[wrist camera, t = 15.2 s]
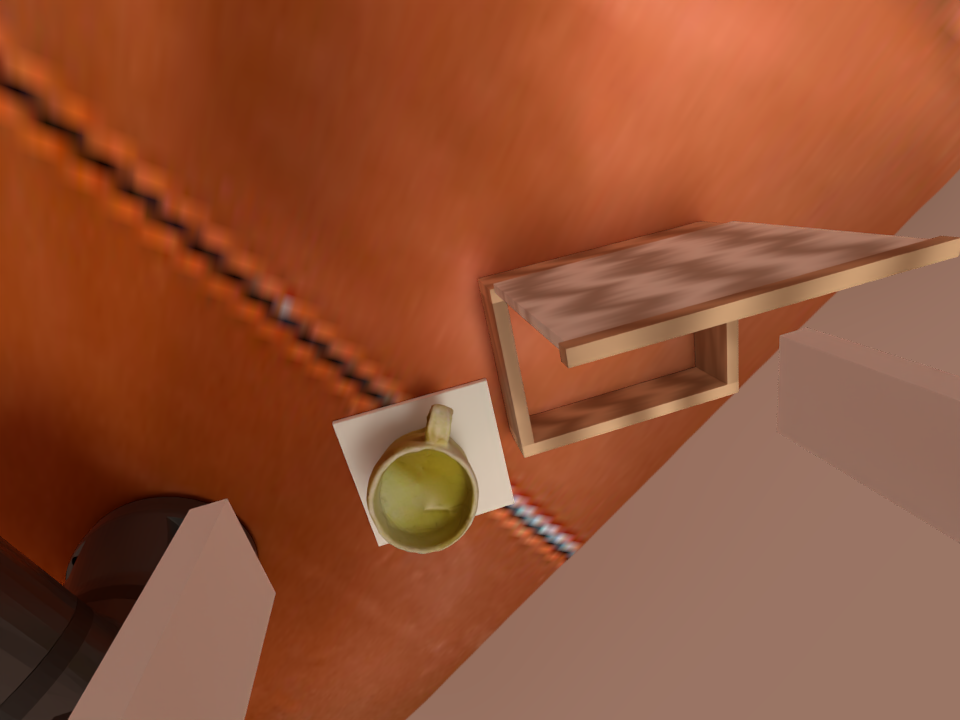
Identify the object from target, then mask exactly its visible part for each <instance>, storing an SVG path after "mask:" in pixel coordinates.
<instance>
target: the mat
mask: <svg viewBox="0 0 960 720" xmlns="http://www.w3.org/2000/svg"><path fill="white" fill-rule="evenodd" d="M434 404H441V405H445V406H447V407H449V408H452V409H453V415H452V422H451V432H450V437H451V438H452V439H453V440H454V441H455V442H456V443H457V444H458V445H459V446H460V447H461V448H462V449H463V451H464V453H465V454H466V456H467V459H468V462H469V463H470V465H471V467H472V469H473V471H474V473H475V476H476V479H477V482H478V488H479V499H478V507H477V512H476V514H475V516H476V515H479V514H482V513H485V512H489V511H492V510H495V509H498V508H501V507H504V506H507V505H511V504H514V499H513V494H512V490H511V485H510V481H509V477H508V472H507V468H506V463H505V459H504V455H503V450H502V446H501V441H500V437H499V433H498V428H497V424H496V419H495V415H494V411H493V406H492V402H491V397H490V393H489V389H488V384H487V380H486V378H484V379H481V380H477V381H474V382H470V383H467V384H463V385H459V386H456V387H452V388H449V389H445V390H442V391H438V392H435V393H431V394H428V395H424V396H421V397H417V398H414V399H410V400H407V401H403V402H400V403H396V404H392V405H389V406H385V407H382V408H378V409H375V410H371V411H368V412H364V413H361V414H357V415H354V416H350V417H347V418H343V419H340V420H336V421H333V427H334V430H335V432H336V435H337V437H338V440H339V443H340V445H341V448H342V451H343V453H344V456H345V459H346V461H347V464H348V466H349V469H350V472H351V474H352V477H353V480H354V482H355V485H356V487H357V490H358V493H359V495H360V498H361V501H362V503H363V506H364V509H365V511H366V514H367V516H368V519H369V522H370V524H371V527H372V530H373V532H374V535H375V537H376V540H377V543H378V545H379V546H381V545H385V544H388V542H387V541H386V540H385V539H384V538H383V537H382V536H381V535H380V534H379V532H378V530H377V528H376V526H375V524H374V522H373V520H372V518H371V516H370V514H369V510H368V507H367V501H366V496H367V487H368V481H369V477H370V475H371V472H372V470H373V468H374V466H375V465H376V463H377V462H378V460H379V459H380V458H381V456H382V455H383V453H384V452H385V451H386V449H387V448H388V447H389V446H390V445H391V444H392V443H393V442H394V441H395V440H396V439H398V438H399V437H401V436H403V435H405V434H407V433H409V432H412V431H415V430H419V429H422V428H424V427H426V423H427V416H428V413H429V410H430V409H431V406H432V405H434Z"/></svg>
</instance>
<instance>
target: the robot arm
mask: <svg viewBox="0 0 960 720" xmlns="http://www.w3.org/2000/svg"><path fill="white" fill-rule="evenodd" d="M777 433H779V434H781V435H782V436H784V437H786V438H787V439H789V440H790V441H792V442H794V443H795V444H797V445H799V446H800V447H802V448H804V449H805V450H807V451H809V452H810V453H812V454H813V455H815V456H817V457H819V458H820V459H822V460H824V461H825V462H827V463H828V464H830V465H832V466H833V467H835V468H837V469H838V470H840V471H841V472H843V473H845V474H846V475H848V476H850V477H851V478H853V479H855V480H857V481H858V482H860V483H861V484H863V485H865V486H866V487H868V488H869V489H871V490H873V491H874V492H876V493H878V494H879V495H881V496H883V497H884V498H886V499H888V500H889V501H891V502H893V503H894V504H896V505H897V506H899V507H901V508H903V509H904V510H906V511H907V512H909V513H911V514H912V515H914V516H916V517H917V518H919V519H921V520H922V521H924V522H925V523H927V524H929V525H930V526H932V527H934V528H935V529H937V530H939V531H940V532H942V533H943V534H945V535H947V536H949V537H950V538H952V539H953V540H955V541H957V542H958V543H960V376H957V375H954V374H951V373H948V372H945V371H942V370H939V369H936V368H932V367H929V366H926V365H923V364H920V363H917V362H914V361H911V360H907V359H904V358H901V357H898V356H895V355H892V354H889V353H886V352H883V351H879V350H876V349H873V348H870V347H867V346H864V345H861V344H858V343H854V342H851V341H848V340H845V339H842V338H839V337H836V336H833V335H830V334H827V333H824V332H820V331H817V330H814V329H811V328H808V327H807V328H804V329H800V330H797V331H794V332H790V333H787V334H783V335H780V345H779V375H778V406H777ZM274 597H275V591H274V589H273V587H272V585H271V583H270V581H269V579H268V577H267V575H266V573H265V571H264V569H263V567H262V565H261V563H260V561H259V560H258V555H257V550H256V547H255V544H254V542H253V539H252V538H251V536H250V534H249V533H248V531H247V530H246V529H245V528H244V526H243V525H242V524H241V523H240V522H239V521H238V519H237V517H236V515H235V513H234V511H233V509H232V507H231V505H230V503H229V501H228V499H224V500H220V501H217V502H213V503H210V504H207V503H204V502H201V501H197V500H193V499H188V498H180V497H156V498H148V499H143V500H139V501H135V502H132V503H129V504H126V505H124V506H121V507H119V508H117V509H115V510H113V511H112V512H110V513H109V514H107V515H106V516H104V517H103V518H102V519H101V520H99V521H98V522H97V523H96V524H95V525H94V526H93V528H92V529H91V530H90V531H89V532H88V534H87V535H86V536H85V537H84V538H83V540H82V541H81V542H80V543H79V545H78V546H77V548H76V549H75V551H74V553H73V555H72V557H71V559H70V562H69V565H68V568H67V572H66V581H65V583H64V585H63V586H62V585H61V584H60V583H59V582H57V581H56V580H55V579H54V578H52V577H51V576H50V575H48V574H47V573H46V572H45V571H43V570H42V569H41V568H40V567H38V566H37V565H36V564H35V563H33V562H32V561H31V560H30V559H28V558H27V557H26V556H25V555H23V554H22V553H21V552H20V551H18V550H17V549H16V548H14V547H13V546H12V545H11V544H9V543H8V542H7V541H6V540H4V539H3V538H2V537H1V536H0V720H244V718H245V714H246V710H247V706H248V702H249V698H250V694H251V690H252V686H253V682H254V678H255V674H256V670H257V666H258V662H259V658H260V654H261V650H262V646H263V642H264V638H265V634H266V630H267V626H268V622H269V618H270V614H271V609H272V605H273V601H274Z"/></svg>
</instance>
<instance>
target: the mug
mask: <svg viewBox="0 0 960 720" xmlns="http://www.w3.org/2000/svg"><path fill="white" fill-rule="evenodd" d="M452 415H453V409H452V408H449V407H447V406H445V405H441V404H434V405H432V406H431V409H430V410H429V413H428V416H427V423H426V427H424V428H422V429H419V430H415V431H412V432H409V433H407V434H405V435H403V436H401V437H399V438H398V439H396V440H395V441H394V442H393V443H392V444H391V445H390V446H389V447H388V448H387V449H386V451H385V452H384V453H383V455H382V456H381V458H380V459H379V460H378V462H377V463H376V465H375V466H374V468H373V470H372V472H371V475H370V477H369V481H368V487H367V496H366V501H367V507H368V510H369V514H370V516H371V518H372V520H373V522H374V524H375V526H376V528H377V530H378V532H379V534H380V535H381V536H382V537H383V538H384V539H385V540H386V541H387V542H388V543H389V544H391V545H393V546H395V547H396V548H398V549H402V550H405V551H407V552H416V553H419V554H427V553H430V552H434V551H441V550H443V549H445V548H447V547H449V546H451V545H452V544H454V543H455V542H456V541H458V540H459V539H460V538H461V537H462V536H463V535H464V534H465V532H466V531H467V530H468V528H469V527H470V525H471V523H472V521H473V519H474V517H475V514H476V512H477V507H478V499H479V488H478V482H477V479H476V476H475V473H474V471H473V469H472V467H471V465H470V463H469V462H468V459H467V456H466V454H465V453H464V451H463V449H462V448H461V447H460V446H459V445H458V444H457V443H456V442H455V441H454V440H453V439H452V438H451V437H450V432H451V422H452Z"/></svg>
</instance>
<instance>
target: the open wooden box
mask: <svg viewBox="0 0 960 720" xmlns="http://www.w3.org/2000/svg"><path fill="white" fill-rule="evenodd" d="M959 251H960V238H959V237H948V236H939V237H935V238H932V239H923V238H913V237H902V236H891V235H880V234H869V233H858V232H847V231H837V230H826V229H815V228H804V227H793V226H782V225H771V224H760V223H749V222H738V221H732V222H729V223H715V222H705V221H700V222H696V223H692V224H688V225H684V226H680V227H676V228H672V229H669V230H665V231H661V232H657V233H653V234H649V235H645V236H641V237H637V238H634V239H630V240H626V241H622V242H618V243H614V244H610V245H606V246H603V247H599V248H595V249H591V250H587V251H583V252H579V253H575V254H572V255H568V256H564V257H560V258H556V259H552V260H548V261H544V262H541V263H537V264H533V265H529V266H525V267H521V268H517V269H513V270H510V271H506V272H502V273H498V274H494V275H490V276H486V277H482V278H479V279H477V280H478V284H479V289H480V294H481V298H482V303H483V308H484V312H485V317H486V321H487V326H488V331H489V335H490V340H491V345H492V349H493V354H494V358H495V363H496V368H497V372H498V377H499V382H500V386H501V391H502V395H503V400H504V405H505V409H506V414H507V419H508V423H509V428H510V432H511V434H512V436H513V438H514V440H515V441H516V443H517V445H518V447H519V449H520V451H521V452H522V454H523V456H524V458H525V457H529V456H532V455H535V454H538V453H542V452H545V451H548V450H552V449H555V448H558V447H561V446H565V445H568V444H571V443H574V442H578V441H581V440H584V439H587V438H591V437H594V436H597V435H600V434H604V433H607V432H610V431H613V430H617V429H620V428H623V427H626V426H630V425H633V424H636V423H640V422H643V421H646V420H649V419H653V418H656V417H659V416H662V415H666V414H669V413H672V412H675V411H679V410H682V409H685V408H688V407H692V406H695V405H698V404H701V403H705V402H708V401H711V400H715V399H718V398H721V397H724V396H728V395H731V394H734V393H737V392H738V319H742V318H745V317H749V316H752V315H756V314H759V313H763V312H766V311H770V310H773V309H777V308H780V307H784V306H787V305H791V304H794V303H798V302H801V301H805V300H808V299H812V298H815V297H818V296H822V295H825V294H829V293H832V292H836V291H839V290H843V289H846V288H850V287H853V286H857V285H860V284H863V283H867V282H871V281H874V280H877V279H881V278H884V277H888V276H892V275H895V274H899V273H902V272H905V271H909V270H912V269H916V268H919V267H923V266H926V265H930V264H933V263H937V262H940V261H944V260H947V259H951V258H954V257H957V256H959ZM507 304H508V305H509V306H510V307H512V308H513V309H514V310H515V311H516V312H517V313H518V314H519V315H521V316H522V317H523V318H524V319H525V320H526V321H527V322H529V323H530V324H531V325H532V326H533V327H534V328H535V329H537V330H538V331H539V332H540V333H541V334H542V335H543V336H545V337H546V338H547V339H548V340H549V341H550V342H551V343H553V344H554V345H555V346H556V347H557V348H558V349H559V351H560V357H561V362H563V363H564V364H565V365H566V366H567V367H568V368H571V367H575V366H578V365H582V364H585V363H589V362H592V361H596V360H599V359H603V358H606V357H609V356H613V355H616V354H620V353H623V352H627V351H630V350H634V349H637V348H641V347H644V346H648V345H651V344H655V343H658V342H662V341H665V340H669V339H672V338H676V337H679V336H683V335H686V334H690V333H693V332H694V340H695V364H696V367H694V368H690V369H687V370H684V371H680V372H677V373H674V374H670V375H667V376H663V377H660V378H657V379H653V380H650V381H647V382H643V383H640V384H636V385H633V386H630V387H626V388H623V389H620V390H616V391H613V392H609V393H606V394H603V395H599V396H596V397H593V398H589V399H586V400H583V401H579V402H576V403H572V404H569V405H566V406H562V407H559V408H556V409H552V410H549V411H545V412H542V413H539V414H535V415H532V416H529V413H528V408H527V403H526V397H525V392H524V387H523V382H522V377H521V372H520V367H519V362H518V357H517V351H516V346H515V341H514V336H513V331H512V326H511V321H510V316H509V311H508V305H507Z"/></svg>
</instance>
